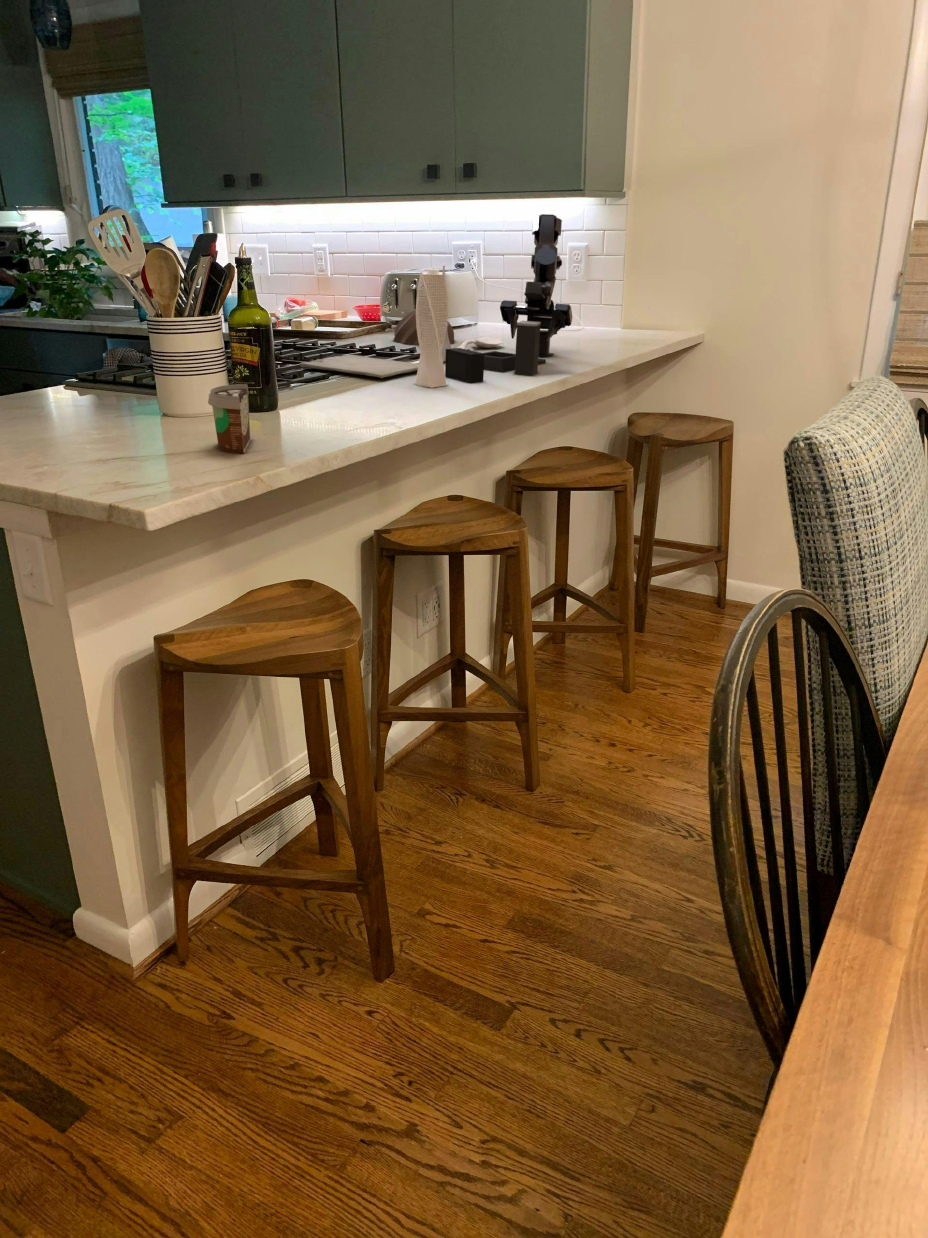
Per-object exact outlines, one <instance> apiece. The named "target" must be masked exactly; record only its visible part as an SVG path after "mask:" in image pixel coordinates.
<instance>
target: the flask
mask: <svg viewBox="0 0 928 1238" xmlns="http://www.w3.org/2000/svg"><path fill="white" fill-rule="evenodd" d="M448 325H449V324H448V323H447V329H446V334H445V339H444V344H443V348H442V351H441V353H442V359H443V363H445V360H446V349H452V346H451V345H452V344H450V341H449V338H448Z"/></svg>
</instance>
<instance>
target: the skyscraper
mask: <svg viewBox="0 0 928 1238" xmlns="http://www.w3.org/2000/svg"><path fill="white" fill-rule="evenodd" d="M448 299H449V298H448V289H447V281H446V264H445V263H444V262H443V263H442V272H440V269H436V268H426V272H423V269H420V270H419V278H418V285H417V292H416V299H415V310H416V327H417V335H418V342H419V345H418V346H419V351H420V354H419V360H418V364H419V366H418V370H416V371H417V372H416V378H415V385H416V386H421V387H426V388H431V389H432V388H438V387H444V386H445V387H446V386H447V379H446V377H445V366H444V362H443V359H442V353H441V351H442V348H443V344H444V339H445V334H446V329H447V321H449V320H448V319H449V318H448V317H449V301H448Z"/></svg>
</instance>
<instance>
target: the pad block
mask: <svg viewBox="0 0 928 1238" xmlns="http://www.w3.org/2000/svg"><path fill="white" fill-rule="evenodd" d="M540 324H541V322H534V321H527V320H520V321H517V329H516V334H515V353H514V354H515V370H514V375H517V376H529V377H534V376H535V375H536V374H538V372H539V371H538V368H539V365H538V358H539V340H540V330H541V329H540Z"/></svg>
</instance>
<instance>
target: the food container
mask: <svg viewBox="0 0 928 1238" xmlns="http://www.w3.org/2000/svg"><path fill="white" fill-rule="evenodd" d="M207 404H208V405H210V406H211V407H212V413H213V419H214V427H215V434H216V441H217V446H218V449H219V450H220V451H222V452H227V453H233V454H245V452H246V450H247V449H248V446H249V445H250V442H251V426H250V406H249V386H248V383H240V384H225V385H220V386H215V387H213V388H211V389H210V392H209V394H208V400H207Z"/></svg>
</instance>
